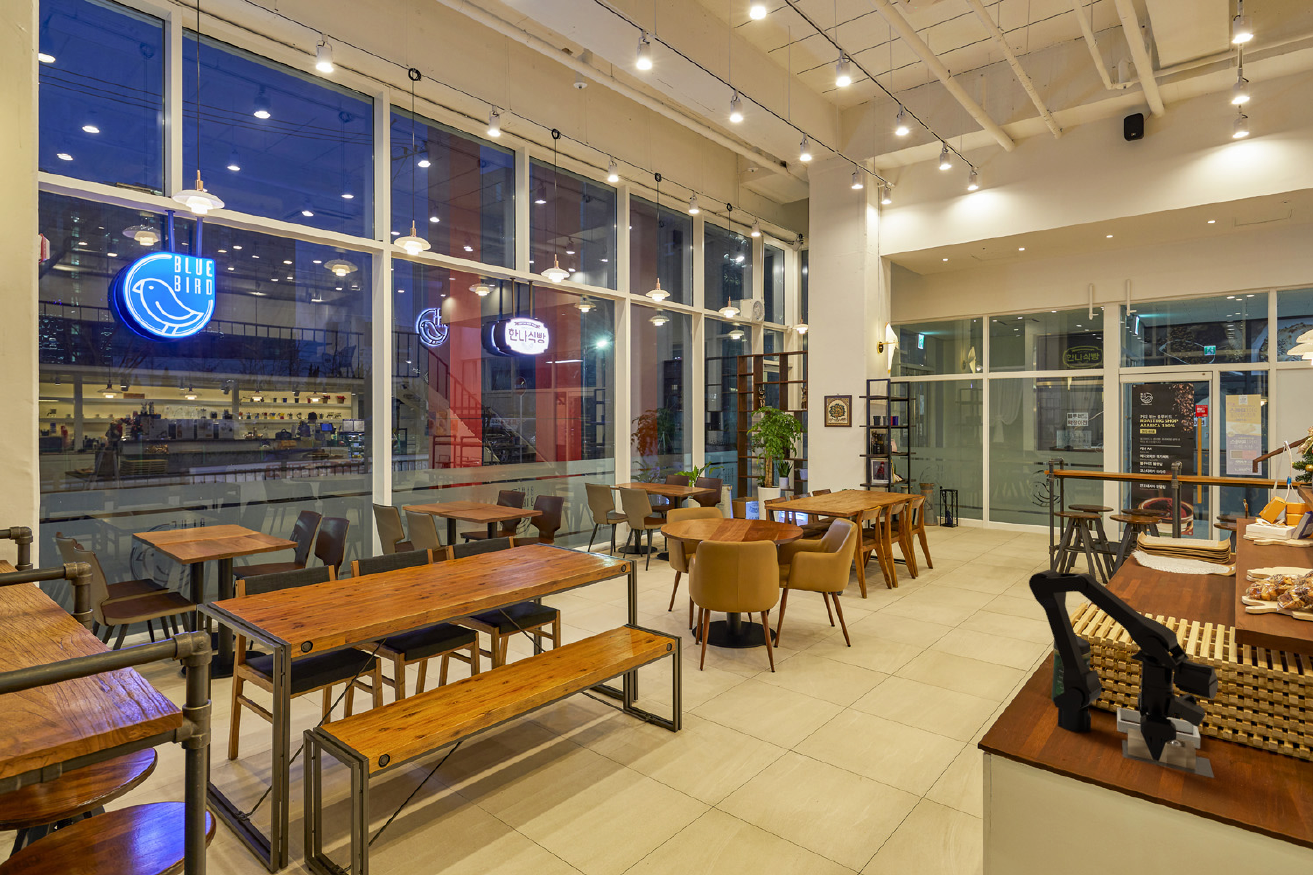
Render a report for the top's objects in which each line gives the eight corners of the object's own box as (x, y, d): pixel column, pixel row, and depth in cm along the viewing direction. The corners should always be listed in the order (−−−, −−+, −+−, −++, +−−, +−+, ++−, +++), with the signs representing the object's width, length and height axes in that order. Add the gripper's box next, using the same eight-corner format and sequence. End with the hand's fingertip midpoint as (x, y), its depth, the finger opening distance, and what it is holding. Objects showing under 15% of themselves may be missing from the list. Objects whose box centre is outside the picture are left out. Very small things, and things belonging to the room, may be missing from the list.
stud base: (1122, 761, 153) (1123, 737, 153) (1121, 744, 161) (1122, 721, 160) (1214, 782, 144) (1215, 757, 144) (1208, 763, 152) (1209, 739, 152)
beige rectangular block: (1128, 754, 154) (1128, 736, 154) (1127, 744, 159) (1127, 727, 158) (1195, 769, 148) (1195, 751, 148) (1192, 759, 152) (1193, 741, 152)
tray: (1117, 734, 165) (1117, 720, 165) (1116, 720, 172) (1117, 707, 172) (1199, 752, 156) (1200, 737, 156) (1195, 736, 164) (1196, 722, 164)
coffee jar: (1080, 714, 176) (1081, 643, 175) (1047, 703, 182) (1048, 635, 181) (1094, 703, 182) (1096, 635, 181) (1062, 693, 188) (1063, 627, 187)
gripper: (1208, 707, 141) (1205, 781, 141) (1197, 676, 156) (1195, 742, 157) (1141, 695, 147) (1139, 765, 148) (1138, 666, 162) (1136, 730, 163)
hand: (1154, 750), depth 154 cm, fingers open, 9 cm apart
